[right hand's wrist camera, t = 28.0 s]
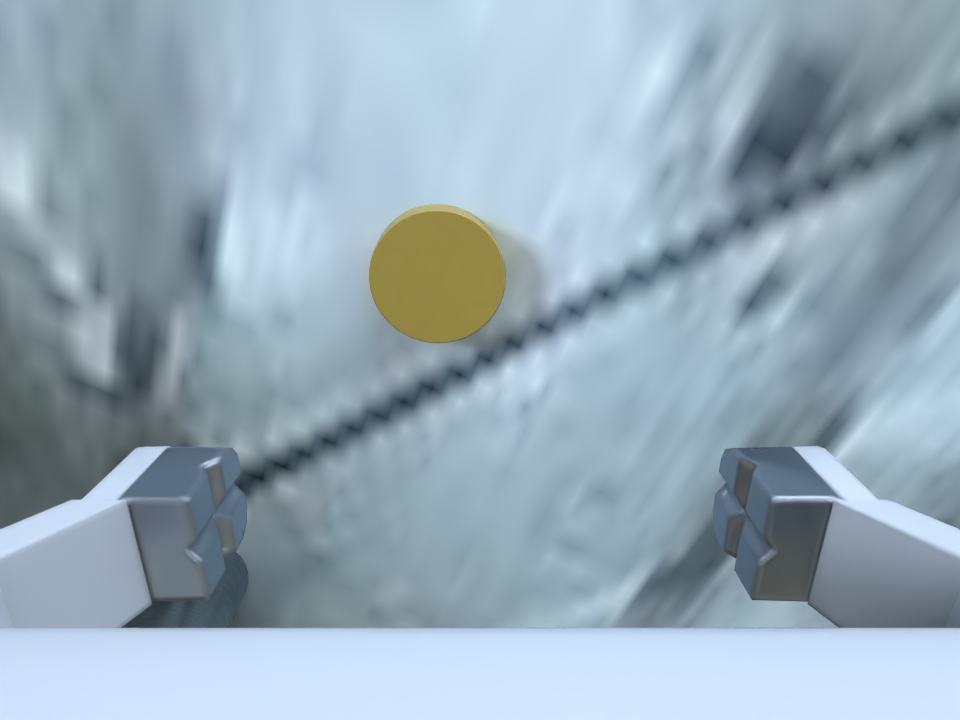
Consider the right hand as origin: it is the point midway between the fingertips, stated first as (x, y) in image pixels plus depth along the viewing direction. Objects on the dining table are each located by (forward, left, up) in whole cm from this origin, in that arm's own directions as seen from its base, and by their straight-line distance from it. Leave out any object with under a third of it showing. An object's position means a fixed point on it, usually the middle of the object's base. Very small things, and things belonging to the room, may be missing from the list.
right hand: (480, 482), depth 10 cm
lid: (+1, 0, -14) cm, 14 cm away
